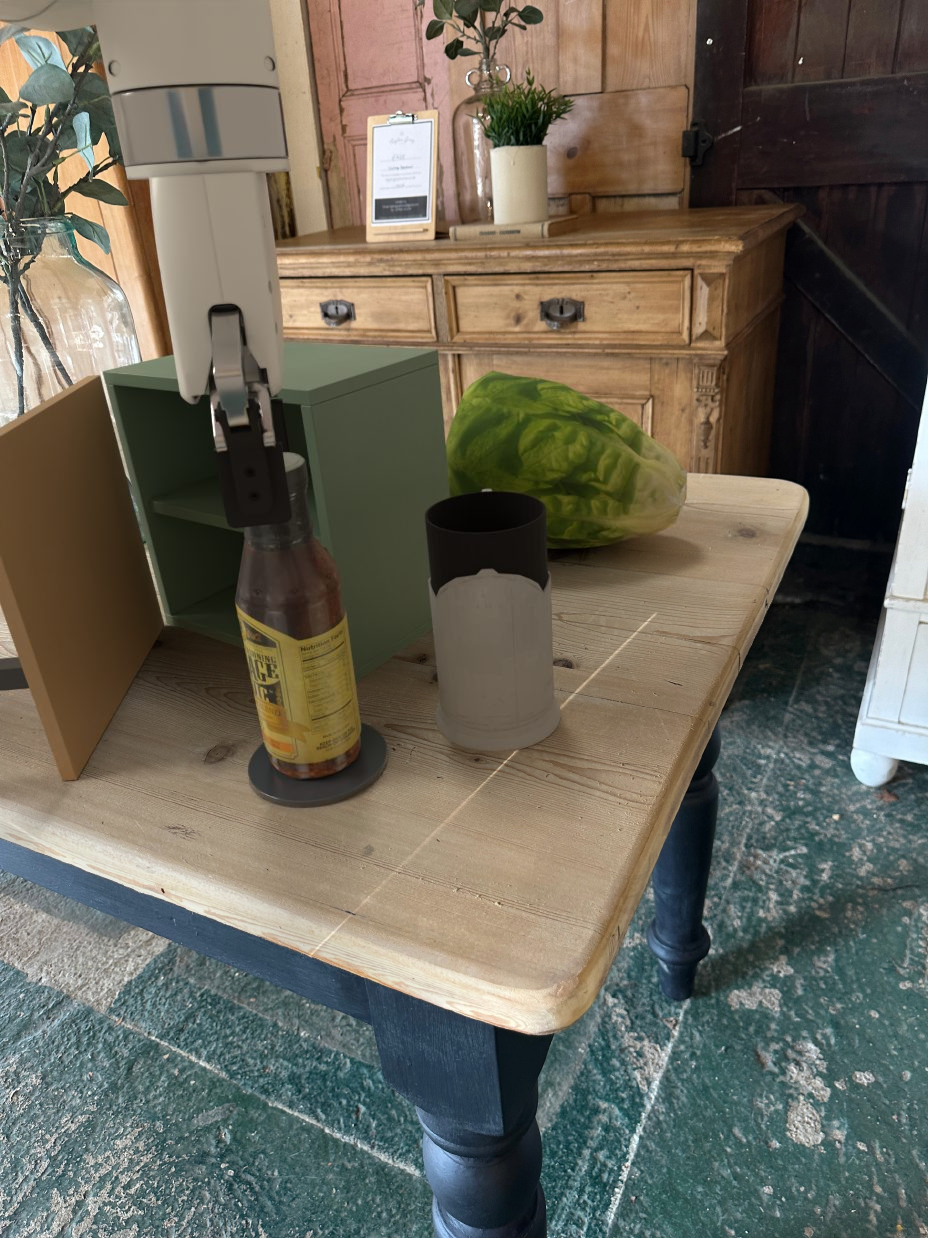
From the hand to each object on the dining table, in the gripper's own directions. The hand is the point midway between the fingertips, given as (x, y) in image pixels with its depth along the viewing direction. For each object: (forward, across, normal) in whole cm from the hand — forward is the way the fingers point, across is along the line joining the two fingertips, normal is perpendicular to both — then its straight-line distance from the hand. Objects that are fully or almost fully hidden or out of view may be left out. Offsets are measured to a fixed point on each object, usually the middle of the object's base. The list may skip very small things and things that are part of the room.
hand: (263, 493), depth 48 cm
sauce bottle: (+18, 0, +1) cm, 18 cm away
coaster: (+18, 0, +1) cm, 19 cm away
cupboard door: (+19, -14, -17) cm, 29 cm away
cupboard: (+19, -22, +1) cm, 29 cm away
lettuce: (+18, -31, +26) cm, 44 cm away
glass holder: (+18, -5, +14) cm, 24 cm away
